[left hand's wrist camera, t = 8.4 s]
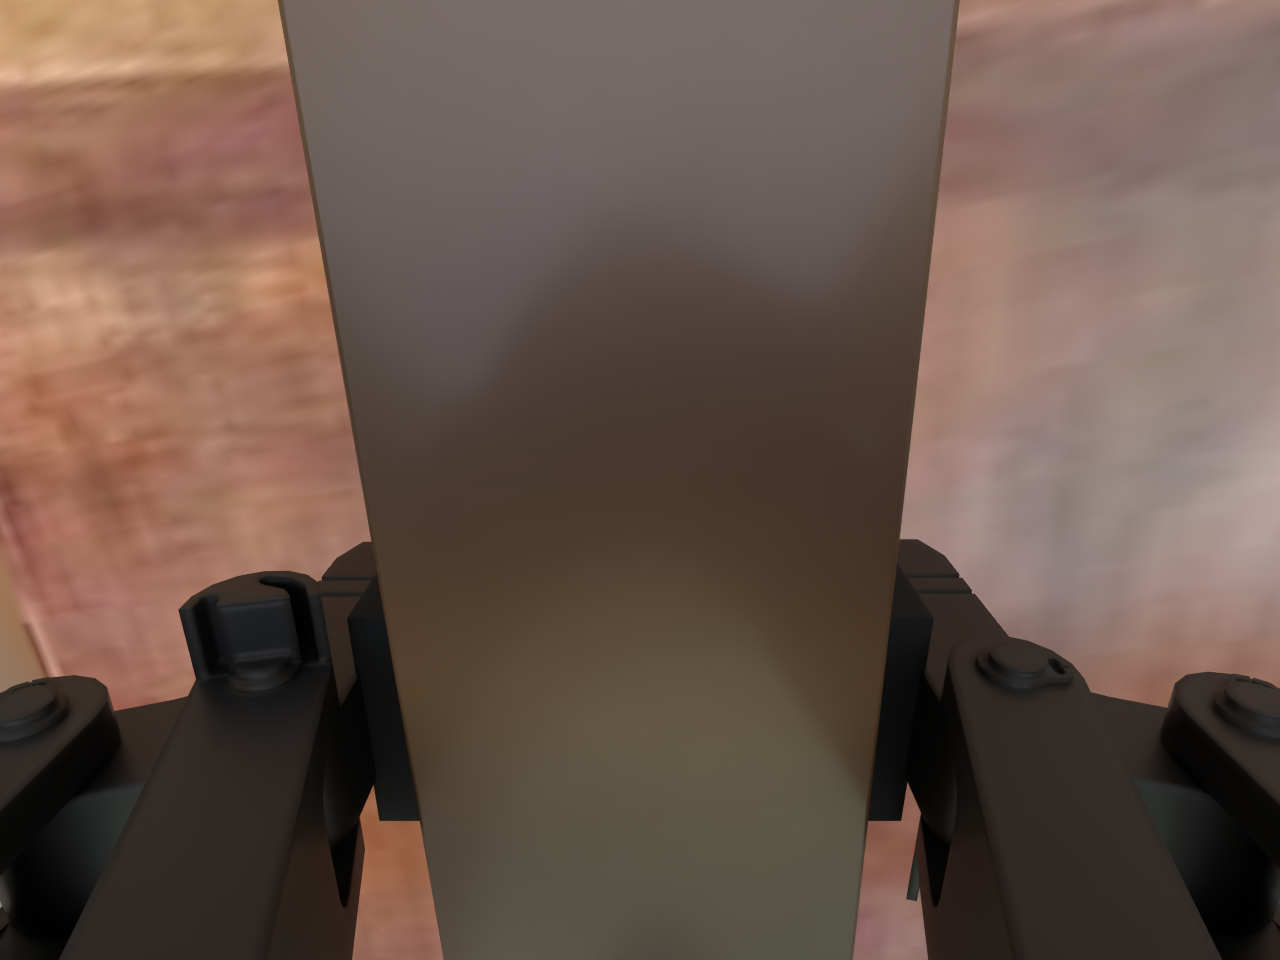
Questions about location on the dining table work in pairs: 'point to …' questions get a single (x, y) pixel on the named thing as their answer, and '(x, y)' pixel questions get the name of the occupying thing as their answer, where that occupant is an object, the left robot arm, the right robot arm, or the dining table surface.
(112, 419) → the dining table surface
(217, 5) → the dining table surface
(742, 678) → the wooden plank
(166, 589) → the dining table surface
